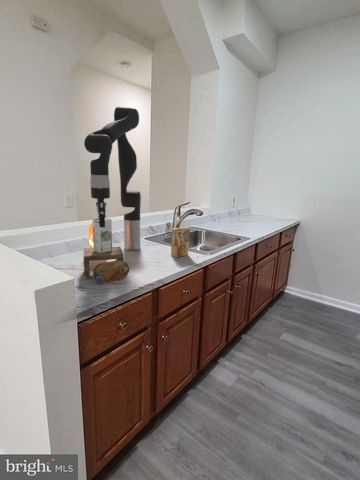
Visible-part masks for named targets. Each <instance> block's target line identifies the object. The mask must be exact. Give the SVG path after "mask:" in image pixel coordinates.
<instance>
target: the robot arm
mask: <svg viewBox="0 0 360 480" xmlns="http://www.w3.org/2000/svg"><path fill="white" fill-rule="evenodd" d="M139 123H140V114H139V111H138V110H137V108H134V107H128V106H116V107H115V109H114V113H113V121H111V122H109V123H107V124H106V125H104V126H103V127H102V128H101V129H98V130H96V131H93V132H90V133H88V135H86V137H85V139H84V143H83V145H84V148H85V150H86V151H87V152H88V153H89V154H90V153H91V154H99V157H97V158H96V159H93V160H91V161H90V164H89V165H90V166H89V167H90V197H91V198H92V199H94V200H96V202H95V207H96V211H97V212H96V213H97V216H98V217H97V218H99V226H100V227H105V218H107V217H106V216H107V215H106V213H107V202H105V199H106V200H107V199H110V198H111V188H110V183H111V182H110V176H109V174H110V173H109V171H110V170H109V163H110V160H111V154H112V150H113V144H114V143H115V142H116V143H117V157H118V169H119V179H120V204H121V206H122V207H123V208H134V209H133V210H132V211H130V212H126V213H124V214H123V229H124V230H123V232H124V233H123V234H124V235H123V236H124V237H123V238H124V239H123V240H124V250H127V251H138V250H140V249H141V202H142V201H141V200H142V197H141V196H142V195H141V191H139V190H127V188H128V185H129V183H130V181H131V179H132V177H133V176H134V174H135V173H136V170H137V168H138V167H137V166H138V162H137V161H138V160H137V159H138V158H137V153H136V151H135V149H134V148H133V147H132V145H131V143H130V142H129V139H128V137H127V135H126V134H127V133H128V132H130V131H132V130H134V129H136V128H137V127H138V125H139Z"/></svg>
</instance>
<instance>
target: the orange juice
mask: <svg viewBox="0 0 360 480" xmlns="http://www.w3.org/2000/svg"><path fill="white" fill-rule="evenodd" d="M96 218H97V217H94V219H96ZM87 228H88V229H87V230H88V243H89V245H88V247H89V248H94V243H93V221H92V222H91V224H90V225H89V226H88V227H87Z"/></svg>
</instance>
